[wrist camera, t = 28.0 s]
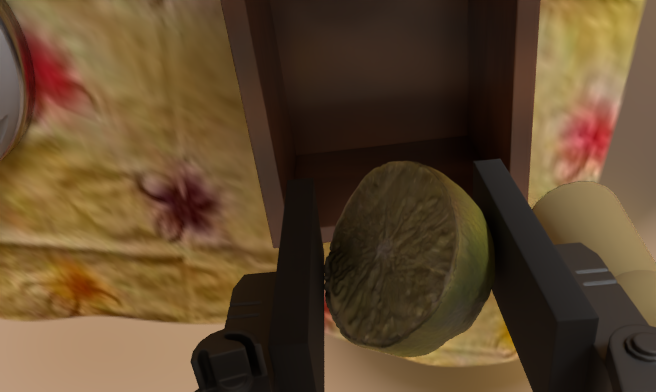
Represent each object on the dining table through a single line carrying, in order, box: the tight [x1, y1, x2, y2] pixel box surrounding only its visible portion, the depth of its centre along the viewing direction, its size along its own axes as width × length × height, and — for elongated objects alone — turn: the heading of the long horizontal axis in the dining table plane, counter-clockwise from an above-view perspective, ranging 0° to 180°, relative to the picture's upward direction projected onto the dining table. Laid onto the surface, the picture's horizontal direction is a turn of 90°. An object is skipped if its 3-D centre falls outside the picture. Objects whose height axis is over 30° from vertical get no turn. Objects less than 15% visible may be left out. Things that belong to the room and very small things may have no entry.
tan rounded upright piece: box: [533, 181, 656, 327], centre depth 31 cm, size 6×6×11 cm
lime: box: [324, 161, 495, 357], centre depth 15 cm, size 4×5×5 cm
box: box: [221, 0, 540, 248], centre depth 26 cm, size 16×12×9 cm
